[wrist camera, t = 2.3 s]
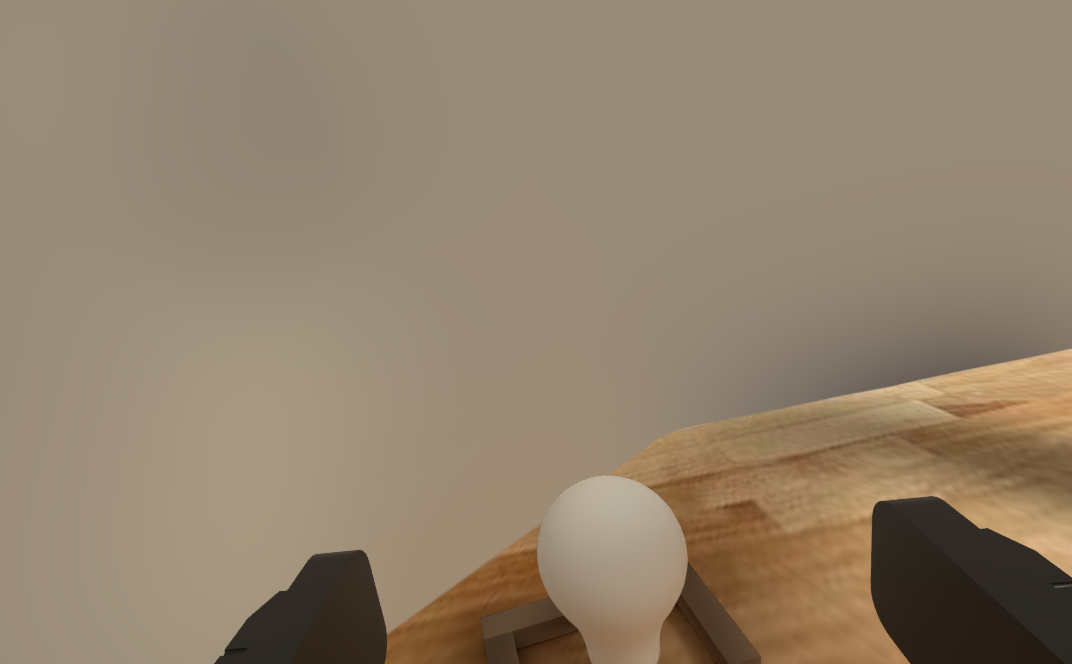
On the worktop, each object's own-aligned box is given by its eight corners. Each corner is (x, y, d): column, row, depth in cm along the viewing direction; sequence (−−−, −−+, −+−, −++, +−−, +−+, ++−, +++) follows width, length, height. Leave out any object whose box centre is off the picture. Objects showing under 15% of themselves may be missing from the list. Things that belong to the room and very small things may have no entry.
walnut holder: (685, 574, 30) (684, 557, 30) (761, 677, 23) (760, 656, 23) (484, 635, 28) (480, 617, 28) (504, 767, 21) (499, 746, 21)
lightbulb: (600, 802, 20) (561, 559, 17) (544, 673, 25) (508, 475, 23) (731, 730, 21) (715, 500, 19) (651, 625, 27) (630, 436, 24)
